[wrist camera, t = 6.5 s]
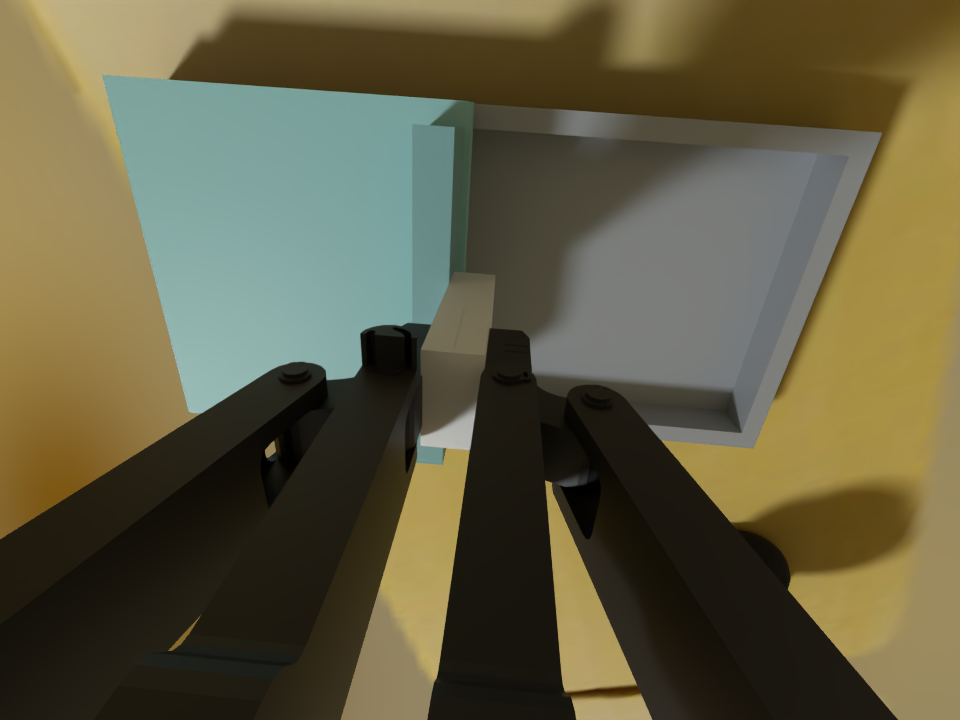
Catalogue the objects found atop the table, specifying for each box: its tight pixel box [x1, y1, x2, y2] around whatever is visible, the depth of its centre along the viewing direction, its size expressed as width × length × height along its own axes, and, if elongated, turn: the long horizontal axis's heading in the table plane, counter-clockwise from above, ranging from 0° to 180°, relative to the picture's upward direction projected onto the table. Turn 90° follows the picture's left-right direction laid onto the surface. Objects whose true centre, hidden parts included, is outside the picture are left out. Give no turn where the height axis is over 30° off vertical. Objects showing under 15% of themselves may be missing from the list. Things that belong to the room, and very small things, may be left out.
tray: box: [465, 103, 882, 448], centre depth 21 cm, size 14×27×2 cm, turn 86°
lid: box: [102, 75, 474, 465], centre depth 18 cm, size 14×13×4 cm
